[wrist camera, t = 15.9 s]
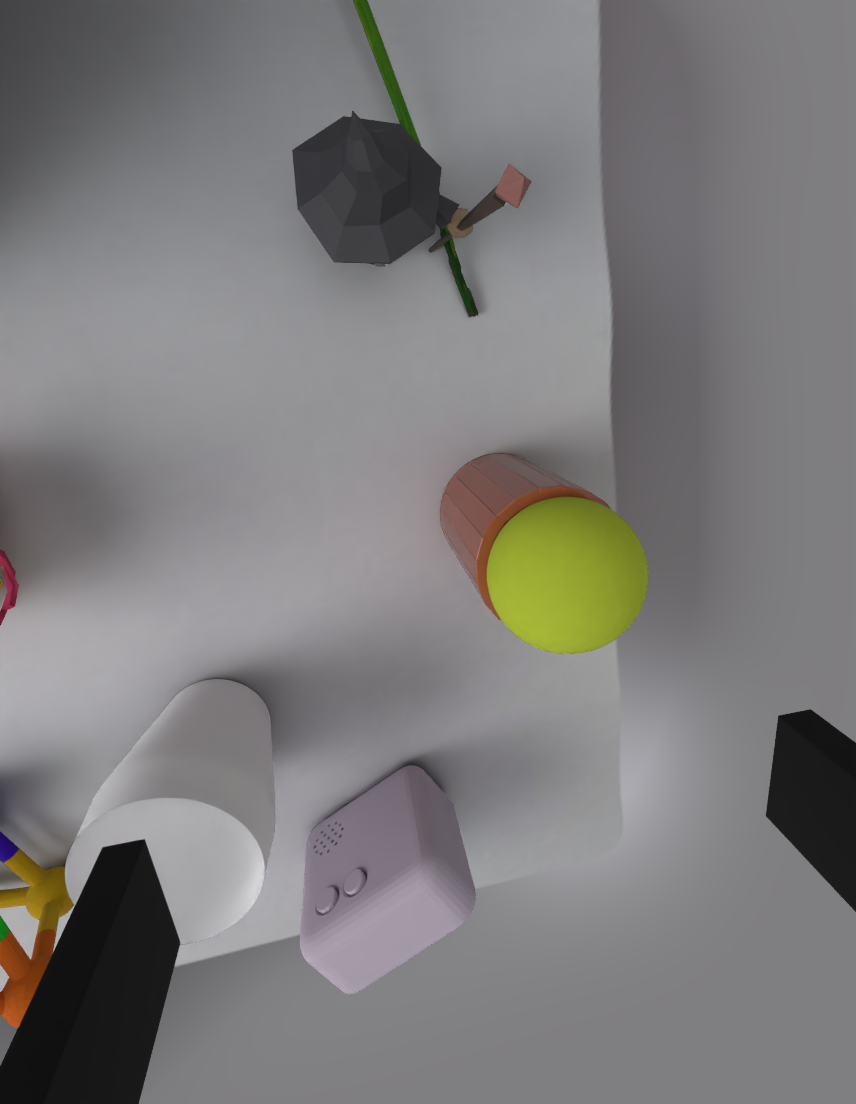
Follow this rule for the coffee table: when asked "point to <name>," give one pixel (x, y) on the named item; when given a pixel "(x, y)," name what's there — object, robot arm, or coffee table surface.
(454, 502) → the terracotta cup
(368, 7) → the flower
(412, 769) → the electronic device
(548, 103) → the coffee table surface
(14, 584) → the book monster
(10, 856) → the educational toy
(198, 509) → the coffee table surface
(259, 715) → the cup
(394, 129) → the wizard figurine
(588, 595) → the ball
